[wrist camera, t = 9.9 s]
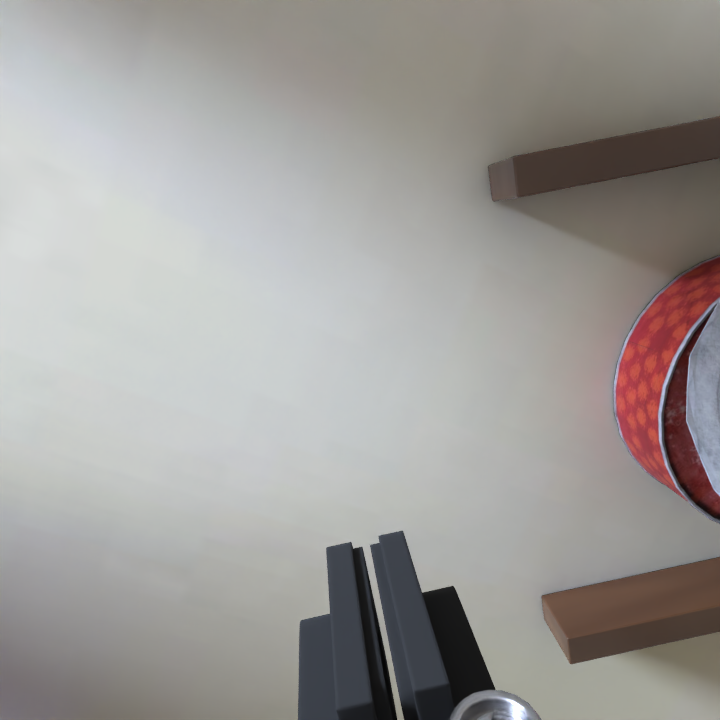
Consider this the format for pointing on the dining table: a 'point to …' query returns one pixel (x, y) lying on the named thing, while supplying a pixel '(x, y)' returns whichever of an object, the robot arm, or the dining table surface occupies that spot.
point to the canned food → (676, 388)
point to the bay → (658, 588)
